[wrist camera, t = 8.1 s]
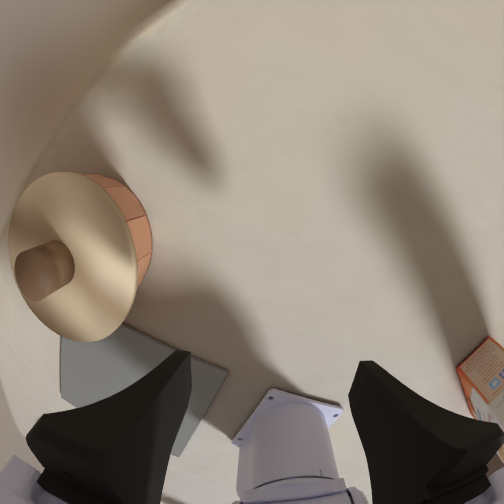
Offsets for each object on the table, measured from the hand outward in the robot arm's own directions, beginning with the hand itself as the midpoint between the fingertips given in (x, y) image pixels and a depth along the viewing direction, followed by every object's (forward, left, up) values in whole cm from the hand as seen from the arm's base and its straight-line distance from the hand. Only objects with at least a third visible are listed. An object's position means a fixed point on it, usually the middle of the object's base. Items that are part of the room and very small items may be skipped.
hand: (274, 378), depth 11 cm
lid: (-2, +14, -5) cm, 15 cm away
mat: (-16, +8, -10) cm, 20 cm away
